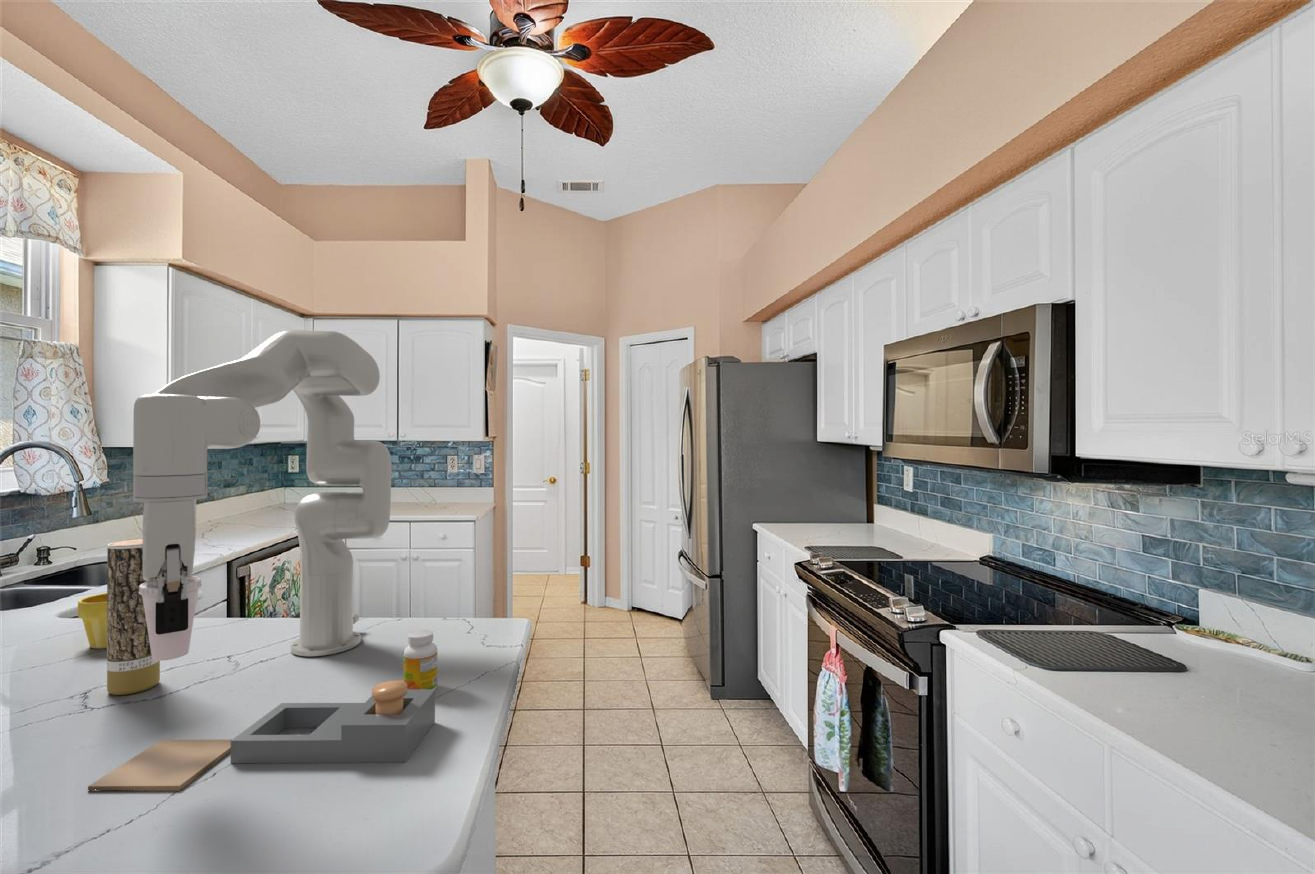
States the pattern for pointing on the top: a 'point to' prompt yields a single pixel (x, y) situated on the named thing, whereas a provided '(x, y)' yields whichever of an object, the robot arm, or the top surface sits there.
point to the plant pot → (94, 619)
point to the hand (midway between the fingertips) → (170, 623)
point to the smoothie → (172, 642)
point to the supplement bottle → (420, 661)
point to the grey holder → (337, 732)
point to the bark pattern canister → (127, 622)
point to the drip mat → (165, 766)
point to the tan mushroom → (389, 697)
